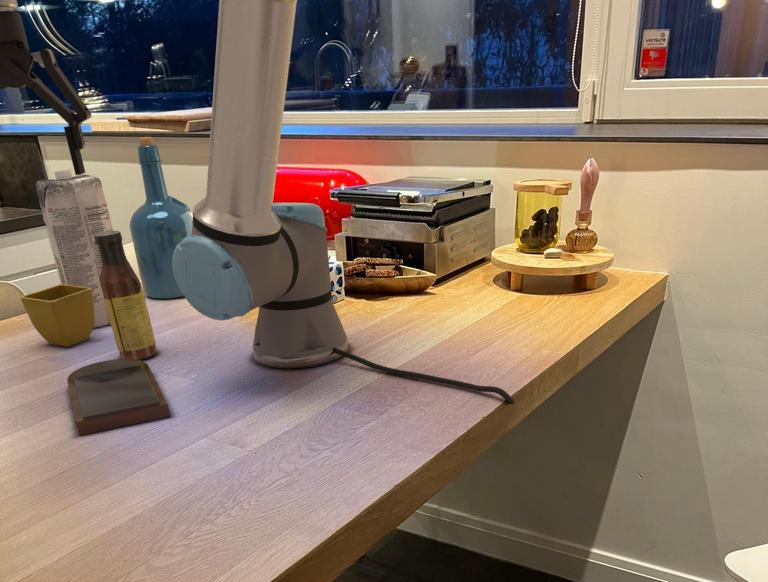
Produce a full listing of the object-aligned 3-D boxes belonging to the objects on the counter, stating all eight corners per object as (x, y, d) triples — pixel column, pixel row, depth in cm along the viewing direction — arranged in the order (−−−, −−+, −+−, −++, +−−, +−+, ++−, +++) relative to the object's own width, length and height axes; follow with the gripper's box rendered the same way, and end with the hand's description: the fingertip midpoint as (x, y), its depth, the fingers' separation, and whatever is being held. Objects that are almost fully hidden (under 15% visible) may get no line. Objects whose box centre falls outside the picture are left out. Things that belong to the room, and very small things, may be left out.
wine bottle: (174, 303, 159) (142, 141, 144) (131, 297, 166) (95, 141, 150) (221, 286, 169) (195, 133, 153) (178, 281, 175) (149, 134, 160)
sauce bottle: (165, 351, 132) (139, 228, 122) (141, 363, 127) (112, 237, 117) (135, 348, 134) (107, 228, 124) (110, 360, 130) (79, 236, 120)
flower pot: (65, 352, 135) (50, 300, 130) (33, 346, 139) (18, 296, 134) (105, 337, 141) (92, 287, 136) (73, 332, 145) (60, 283, 141)
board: (170, 416, 107) (166, 399, 106) (79, 435, 103) (74, 418, 102) (145, 365, 126) (142, 350, 125) (68, 380, 122) (64, 364, 121)
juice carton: (136, 320, 150) (102, 168, 136) (81, 332, 145) (40, 176, 131) (121, 311, 156) (87, 165, 142) (69, 322, 151) (28, 172, 138)
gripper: (88, 6, 111) (123, 167, 122) (-88, 20, 111) (-37, 181, 121) (73, 3, 105) (111, 173, 115) (-114, 17, 104) (-58, 187, 115)
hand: (35, 177), depth 118 cm, fingers open, 13 cm apart
